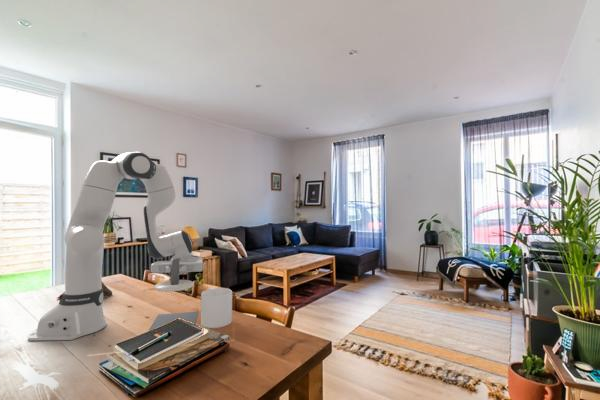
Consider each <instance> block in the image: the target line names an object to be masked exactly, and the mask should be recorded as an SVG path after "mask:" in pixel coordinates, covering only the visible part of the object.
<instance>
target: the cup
mask: <svg viewBox="0 0 600 400" xmlns="http://www.w3.org/2000/svg"><path fill="white" fill-rule="evenodd" d="M232 321H233V290H231V289H230V288H227V287H216V288H215V287H214V288H213V287H212V288H209V289H206V290H203V291H202V292H201V294H200V324H201V326H202V327H204V328H206V329H207V328H209V329H216V328H222V327H226V326H228V325H230V324H231V323H232Z"/></svg>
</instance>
